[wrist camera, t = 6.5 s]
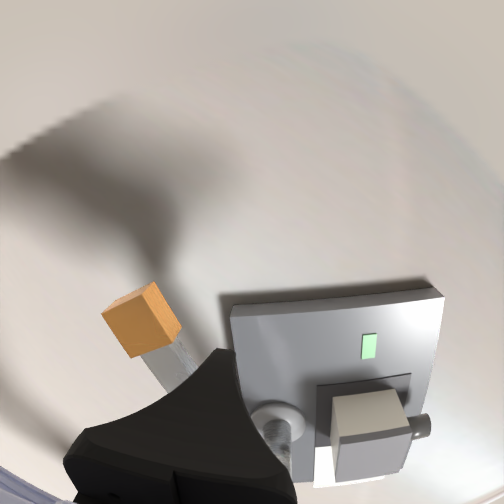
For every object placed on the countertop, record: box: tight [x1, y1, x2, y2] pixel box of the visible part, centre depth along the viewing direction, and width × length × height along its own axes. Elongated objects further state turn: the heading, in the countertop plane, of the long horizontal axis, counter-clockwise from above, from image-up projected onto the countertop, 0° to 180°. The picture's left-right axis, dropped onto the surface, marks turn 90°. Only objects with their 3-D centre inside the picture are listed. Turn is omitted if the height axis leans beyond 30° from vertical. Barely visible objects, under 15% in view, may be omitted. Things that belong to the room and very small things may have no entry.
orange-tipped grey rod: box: [101, 282, 292, 476], centre depth 14 cm, size 14×2×5 cm, turn 27°
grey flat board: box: [230, 287, 445, 488], centre depth 19 cm, size 12×17×2 cm
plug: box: [330, 389, 431, 483], centre depth 16 cm, size 6×4×4 cm, turn 96°
